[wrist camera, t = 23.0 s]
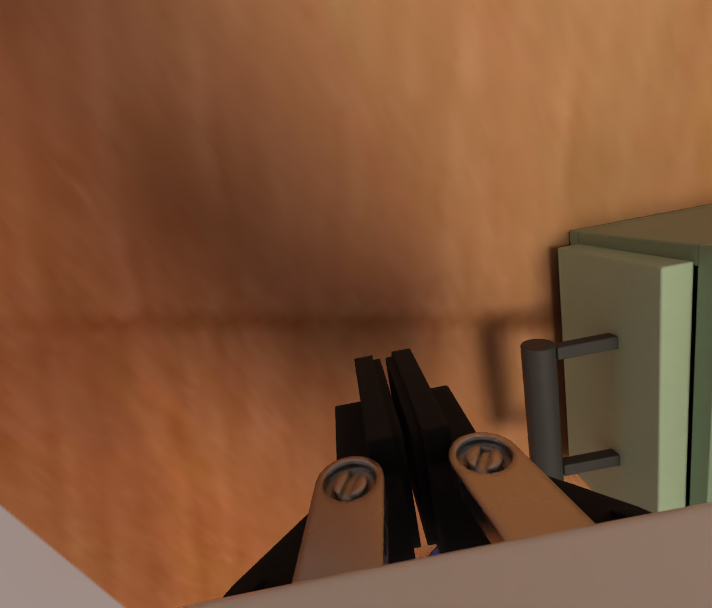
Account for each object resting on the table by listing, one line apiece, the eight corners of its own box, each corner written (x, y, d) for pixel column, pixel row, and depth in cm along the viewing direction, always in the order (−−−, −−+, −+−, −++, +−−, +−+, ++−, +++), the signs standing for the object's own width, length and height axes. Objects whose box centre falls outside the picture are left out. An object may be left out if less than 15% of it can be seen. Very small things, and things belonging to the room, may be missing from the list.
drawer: (502, 477, 24) (566, 582, 17) (480, 262, 20) (547, 289, 14) (803, 420, 24) (982, 503, 17) (829, 195, 20) (1064, 190, 14)
